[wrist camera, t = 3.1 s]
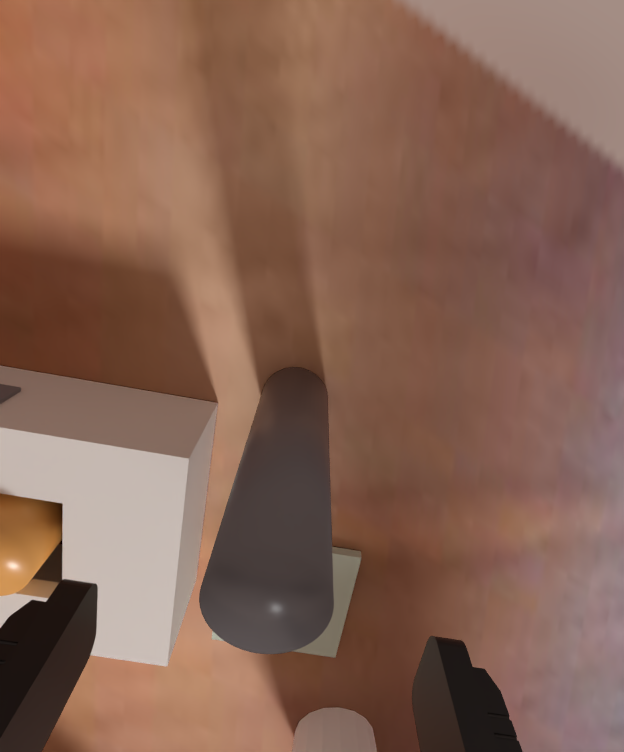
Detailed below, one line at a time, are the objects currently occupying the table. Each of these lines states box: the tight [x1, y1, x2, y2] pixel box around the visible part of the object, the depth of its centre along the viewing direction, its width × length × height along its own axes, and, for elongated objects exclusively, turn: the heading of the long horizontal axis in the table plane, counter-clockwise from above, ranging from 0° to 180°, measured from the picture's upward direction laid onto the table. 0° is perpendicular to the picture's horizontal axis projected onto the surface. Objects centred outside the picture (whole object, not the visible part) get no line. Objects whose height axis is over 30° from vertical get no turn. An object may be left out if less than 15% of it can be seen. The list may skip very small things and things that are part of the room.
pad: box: [212, 547, 361, 658], centre depth 30 cm, size 8×8×1 cm
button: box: [0, 493, 63, 596], centre depth 23 cm, size 4×4×4 cm
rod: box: [199, 367, 334, 654], centre depth 19 cm, size 4×4×14 cm
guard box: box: [0, 366, 218, 666], centre depth 25 cm, size 16×12×6 cm
